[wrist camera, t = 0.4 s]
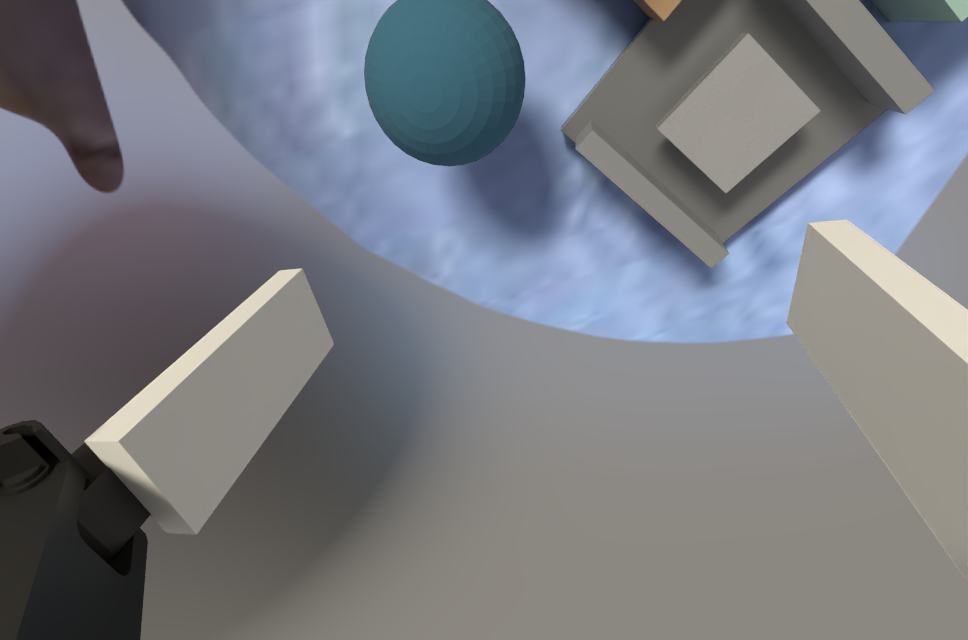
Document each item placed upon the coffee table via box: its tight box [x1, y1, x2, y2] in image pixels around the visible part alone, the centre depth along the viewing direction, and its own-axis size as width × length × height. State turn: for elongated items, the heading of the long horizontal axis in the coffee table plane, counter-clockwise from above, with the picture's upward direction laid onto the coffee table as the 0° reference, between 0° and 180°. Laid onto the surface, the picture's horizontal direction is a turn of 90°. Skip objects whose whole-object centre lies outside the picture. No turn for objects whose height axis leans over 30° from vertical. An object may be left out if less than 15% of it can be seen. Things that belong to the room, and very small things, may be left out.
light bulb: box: [364, 0, 525, 166], centre depth 26 cm, size 8×8×12 cm
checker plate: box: [655, 33, 821, 193], centre depth 26 cm, size 6×6×1 cm
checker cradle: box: [561, 0, 935, 268], centre depth 27 cm, size 14×14×5 cm
